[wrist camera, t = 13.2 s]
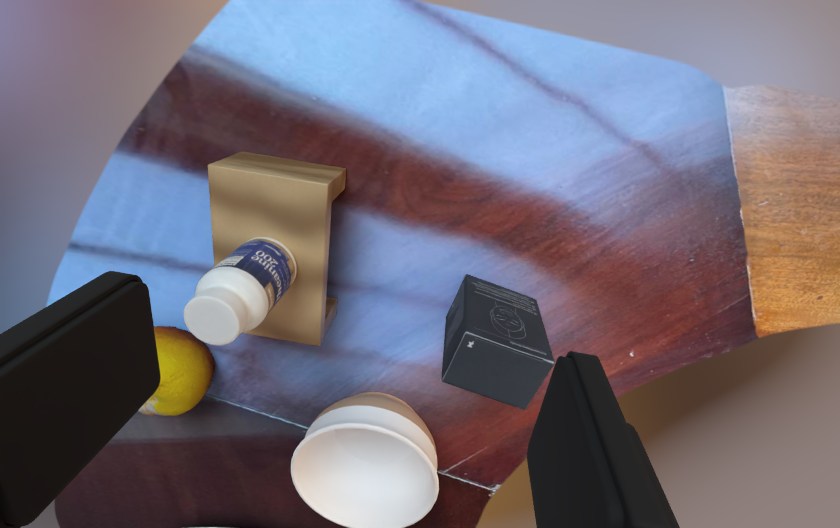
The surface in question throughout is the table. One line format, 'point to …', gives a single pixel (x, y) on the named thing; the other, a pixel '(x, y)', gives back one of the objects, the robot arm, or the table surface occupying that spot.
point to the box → (495, 343)
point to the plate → (210, 527)
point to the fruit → (179, 372)
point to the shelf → (280, 231)
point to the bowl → (368, 463)
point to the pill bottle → (240, 291)
